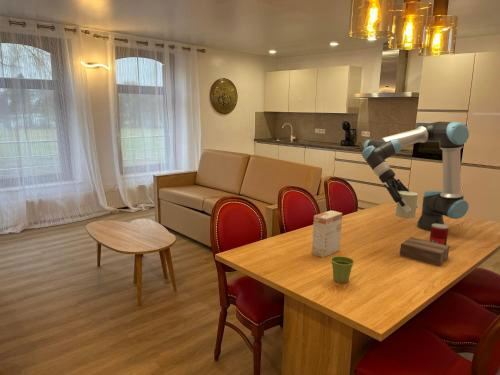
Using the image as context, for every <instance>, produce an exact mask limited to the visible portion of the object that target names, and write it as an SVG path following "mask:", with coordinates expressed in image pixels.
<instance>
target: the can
mask: <svg viewBox="0 0 500 375" xmlns="http://www.w3.org/2000/svg"><path fill="white" fill-rule="evenodd" d="M409 191H410V190H409ZM409 191H398V192H399V194H400V196H401V198H402V199H404V201H405V202H406V203H407V205H408V206H409V207H410V208H411V211H409V212H408V213H406V212H405V211H404V209H403V208H402V207H401V205H400V204H399V203H398V202H397V203H396V208H395V209H396V211H395V214H394V215H395V216H396V217H398V218H400V219H401V218H402V219H414V218H416V214H417V213H416V211H417V208H416V204H418V197H419V194H418V193H417V192H414V191H410V192H409ZM402 199H401V200H402Z"/></svg>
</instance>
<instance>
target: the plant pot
mask: <svg viewBox="0 0 500 375" xmlns="http://www.w3.org/2000/svg"><path fill="white" fill-rule="evenodd" d="M330 262H331V265H332V276H333V281H334V282H337V283H338V284H339V283H341V284H344V283H345V284H347V282H349V280H350V275H351V271H352V268H353V265H354V264H355V260H354V259H352V258H351V257H348V256H345V255H344V256H342V255H336V256H332V257H331V258H330Z"/></svg>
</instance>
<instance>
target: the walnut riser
mask: <svg viewBox="0 0 500 375" xmlns="http://www.w3.org/2000/svg"><path fill="white" fill-rule="evenodd" d="M399 249H400V250H399V256H401V257H404V258H407V259H411V260H414V261H419V262H422V263H427V264H430V265H434V266H436V267H437V266H438V267H440V266H441V265H442V264H444V262H446V260H448V258H449V252H450V245H447V244H446V245H443V244H438V243H434V242H430V240H425V239H421V238H417V237H412V236H411V237H409V238H408V239H406V240H405V241H403V242H400V248H399Z"/></svg>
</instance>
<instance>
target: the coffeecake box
mask: <svg viewBox="0 0 500 375" xmlns="http://www.w3.org/2000/svg"><path fill="white" fill-rule="evenodd" d="M342 218H343V212H339V211H336V210H327V211H324V212H321V213H318V214H315V215H313V225H312V226H313V227H312V242H311V243H312V244H311V245H312V246H311V254H312V255H314V256H317V257H320V258H326V257H328V256H330V255H332V254H334V253H337V252H338V251H340V250H341V239H342V238H341V236H342V223H343V222H342V221H343V219H342Z"/></svg>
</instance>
